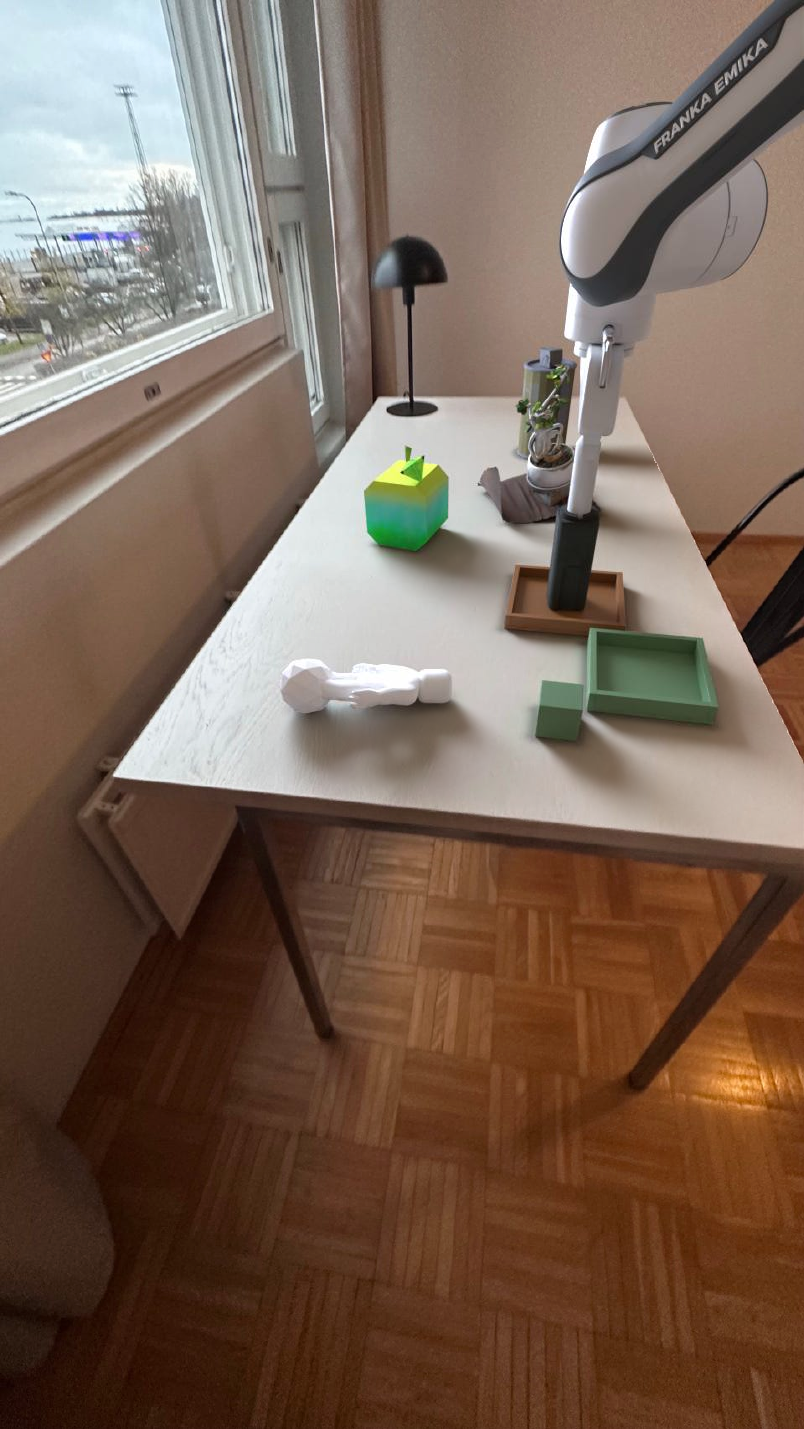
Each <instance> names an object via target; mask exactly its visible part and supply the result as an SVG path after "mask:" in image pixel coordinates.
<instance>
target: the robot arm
mask: <svg viewBox="0 0 804 1429" xmlns="http://www.w3.org/2000/svg"><path fill="white" fill-rule="evenodd" d="M802 125H804V0H773V1H772V2H771V3H770V4H769V5H768V6H767V7H766V8H765V9H764V10H763V11H761V13H760V14H759V15H758V16H757V17H756V18H755V19H754V20H753V21H752V22H751V23H750V24H749V25H748V26H747V27H746V28H745V29H744V30H743V31H742V32H741V33H740V34H739V35H738V36H737V37H736V38H735V39H734V40H733V41H732V42H731V43H730V44H729V45H728V46H727V47H726V48H725V49H724V51H722V52H721V53H720V55H719V56H718V57H716V58H715V59H714V60H713V61H712V62H711V64H709V65H708V66H707V68H705V70H703V72H702V73H700V75H699V76H698V77H697V78H696V79H695V80H694V81H693V82H692V83H691V84H690V85H688V87H687V88H686V89H685V90H684V91H683V92H682V93H681V94H680V95H679V96H678V97H677V98H676V99H675V100H674V101H673V102H672V101H652V102H647V103H643V104H640V105H633V106H630V107H626V108H623V109H621V110H618V111H616V112H615V113H613V114H610V115H609V116H608V117H606V119H604V120H603V121H602V122H601V123H600V124H599V125H598V127H597V128H596V130H595V133H594V135H593V138H592V140H591V144H590V148H589V151H588V154H587V159H586V163H585V167H584V172H583V175H581V178H580V179H579V181H578V182H577V184H576V186H575V187H574V189H573V190H572V193H571V195H570V197H569V199H568V202H567V204H566V206H565V208H564V211H563V214H562V218H561V222H560V227H559V234H558V251H559V259H560V262H561V266H562V269H563V271H564V274H565V276H566V278H567V280H568V281H569V288H568V289H569V290H568V298H567V307H566V316H565V325H564V334H563V335H564V337H565V339H567V340H570V341H573V342H574V348H573V354H574V355H575V356H577V357H579V358H580V367H579V368H580V369H579V370H580V371H579V373H580V374H579V377H580V378H579V379H580V380H579V383H580V384H579V385H580V387H579V402H578V403H579V404H578V421H577V432H578V434H579V435H580V436H582V435H583V444H582V451H581V458H582V459H583V460H594V459H596V457H597V453H598V447H599V443H600V441H601V439H602V437H610V436H611V435H612V434H613V432H614V429H615V426H616V420H617V415H618V408H619V402H620V396H621V389H622V384H623V377H624V368H625V359H626V358H629V357H632V356H633V355H634V352H635V347H636V346H635V345H636V343H637V342H641V341H644V340H646V339H648V338H649V336H650V332H651V327H652V323H653V317H654V313H655V312H654V311H655V305H656V302H657V301H656V300H657V295H660V294H666V293H672V292H677V291H683V290H688V289H694V288H700V287H706V286H709V285H713V284H715V283H717V282H719V281H723V280H726V279H727V278H729V277H731V276H732V275H734V274H736V272H737V271H739V269H741V268H742V267H743V265H744V264H745V263H746V262H747V260H748V259H749V257H751V255H752V253H753V251H754V250H755V248H756V246H757V244H758V242H759V240H760V239H761V238H760V237H761V235H762V232H763V231H764V230H763V229H764V227H765V223H766V219H767V216H768V215H767V214H768V208H769V187H768V182H767V178H766V175H765V174H766V173H765V172H764V169H763V168H762V166H761V165H760V163H759V162H758V161H757V160H756V158H757V157H758V156H760V155H761V154H762V153H763V152H764V151H766V150H767V149H768V148H769V147H771V146H772V145H773V144H775V143H776V142H777V141H778V140H780V139H781V138H783V137H784V136H785V135H787V134H789V133H790V132H791V131H793V130H795V129H797V128H798V127H801V126H802Z"/></svg>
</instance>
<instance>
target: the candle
mask: <svg viewBox="0 0 804 1429" xmlns="http://www.w3.org/2000/svg"><path fill="white" fill-rule="evenodd" d="M582 444H583V435H580V436H579V439H578V440H577V441H576V443H575V448H574V452H575V456H574V464H573V471H572V478H571V486H570V493H569V500H568V504H565V505H563V506H562V507H561V508H559V509H558V510H557V515H556V516H555V524H554V532H553V540H552V546H551V557H550V563H549V567H550V571H549V579H548V587H547V595H546V596H547V603H548V607H549V608H550V609H552V610H576V611H580V610H583V609H584V608H585V604H586V598H587V592H588V587H589V581H590V575H591V570H593V563H594V559H595V558H594V557H595V553H596V552H595V551H596V547H597V539H598V534H599V528H600V522H601V519H600V516H599V513H598V510H597V508H596V507H594V506H593V505H592V499H593V500H594V492H595V487H596V480H597V474H598V468H599V461H600V456H601V450H602V440H600V443H599V447H598V453H597V457H596V459H594V460H583V459H582V458H581V451H582Z"/></svg>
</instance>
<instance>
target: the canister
mask: <svg viewBox="0 0 804 1429" xmlns="http://www.w3.org/2000/svg"><path fill="white" fill-rule="evenodd" d="M539 351H540V354H539V355H540V356H539V358H534V359H530V360H527V361H525V362H524V364H523V367H524V374H523V385H522V386H523V387H522V398H521V400H523V401H525V399H528V400H529V403H528V404H527V405H526V406H529V404H532V408H533V407H534V406H535V404H536V403H537V402H540V403H541V405H540V407H541V406H542V405H543V403H544V402H545V400H547V399H548V397H549V396H550V395H551V393H552V392H553V391H554V389H555V384H554V381H553V380H548V379H547V375H550V373H551V371H553V372H554V373H555V372H556V370H557V369H556V368H558V367H561V366H562V365H563V364H564V365H565V367H567V366H569V370H568V371H567V375H568V376H569V383H567V384H566V378H564V380H563V382H562V383H561V385H560V387H559V390H556V392H555V393H554V396H556V395H559V397H560V398H559V399H561V398H563V397H566V398H568V399H569V402H568V403H566V404H565V403H564V405H563V406H562V407H561V411H560V410H558V409H557V410H556V411H555V412H554V414H553V415H554V416H555V418H556V423H555V422H554V421H552V420H551V422H553V425H554V424H557V423H560V424H562V425H563V432H562V437H563V442H562V443H561V444H565V445H567V436H568V429H569V428H568V427H569V420H570V412H571V404H572V397H573V389H574V382H575V376H576V375H575V374H576V369H577V367H578V363H577V362H576V361H574V360H572V359H569V358H564V357H563V352H564V350H563V348H560V347H556V346H555V347H554V346H550V345H549V346H544V347H543V346H542V347H540V349H539ZM558 370H559V369H558ZM562 374H564V373H562ZM550 376H551V375H550ZM559 376H560V375H559ZM555 401H556V404H558V402H559V400H558V399H557V398H556V399H550V400H549V402H548V403H547V404H546V407H545V408H543V410H545V411H546V410H548V407H549V406H550V405H553V404H554V402H555ZM562 404H563V403H562ZM540 407H539V409H540ZM535 410H536V407H535ZM537 410H538V409H537ZM541 413H543V412H541ZM541 413H540V414H541ZM534 414H535V412H534V411H533V415H534ZM548 414H550V413H548ZM551 414H552V412H551ZM549 416H550V415H549ZM542 417H546V416H545V414H544V415H543V416H542ZM527 418H529V409H528V408H527V413H526V414H525V415H522V414H521V413H520V422H519V435H518V436H519V437H518V448H517V449H516V453H517V455H518V456H519V457H521V458H523V459H527V460H528V458H529V455H530V452H529V450H528V444H529V440H530V438H531V436H532V435H533V434H532V432H531V431H529V432H527V433H526V432H525V431H524V430H525V428H526V427H527V426H528V425H527V424H526V422H525V421H526V419H527ZM550 419H551V417H550V418H549V419H548V420H550ZM536 421H537V419H536ZM542 427H544V426H542ZM545 428H546V427H545ZM552 430H558V431H559V432H560V429H552ZM552 430H550V431H552ZM557 438H558V435H557V437H555V438H554V439H550V440H551V443H557ZM532 449H533V450H534V443H533V446H532Z"/></svg>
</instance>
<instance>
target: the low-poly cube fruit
mask: <svg viewBox="0 0 804 1429" xmlns="http://www.w3.org/2000/svg"><path fill="white" fill-rule="evenodd" d="M412 450H413V448H412V447H409V446H407V445H404V452H405V459H398V460H397V461H396V462H394V463H393V464H392V465H391V466H390V467H388V468H387V469H386V470H384V472H382V473H381V474H380V475H378V477H376V478H375V479H374V480H372V481H371V483H370V484H369V485H368V486H367V487H366V488H365V489H364V490H363V496H364V508H365V509H364V510H365V521H366V522H365V523H366V533H367V534H368V536H370V537H371V538H372V540H373V541H374V542H375V543H376V544H377V545H379V546H385V547H392V548H397V549H403V550H409V551H413V552H414V551H415V552H417V551H418V550H419V549H420V548H422V547H423V546H424V545H425V544H426V543H427V542H428V541H429V540H430V539H431V538H432V537H433V536H434V535H435V534H436V533H437V532H438V530H439V529H440V528H441V527H442V526H443V525H444V523H446V521H447V520H448V519H449V489H450V488H449V487H450V484H449V483H450V482H449V481H450V478H449V475H448V474H447V473H446V471H444V470H443V468H442V467H441V466H440V464H437V463H428V462H425V456H426V455H421V456H418V457H414V458H411V456H412Z"/></svg>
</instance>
